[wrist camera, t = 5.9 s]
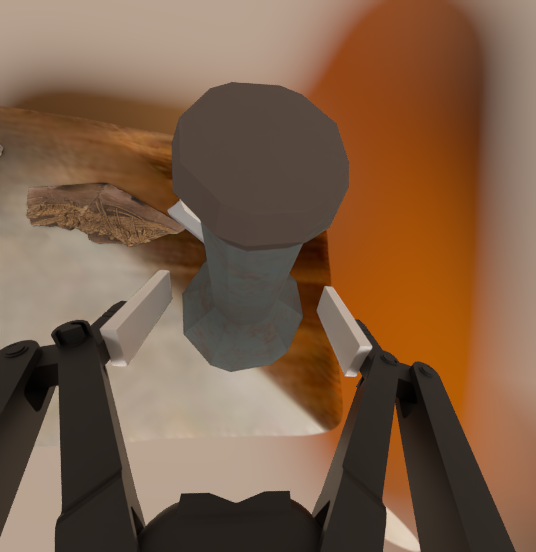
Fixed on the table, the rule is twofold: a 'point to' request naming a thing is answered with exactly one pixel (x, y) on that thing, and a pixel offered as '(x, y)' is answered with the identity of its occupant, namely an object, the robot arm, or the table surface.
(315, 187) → the bottle
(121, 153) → the table surface
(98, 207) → the wooden fragment
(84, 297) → the table surface
